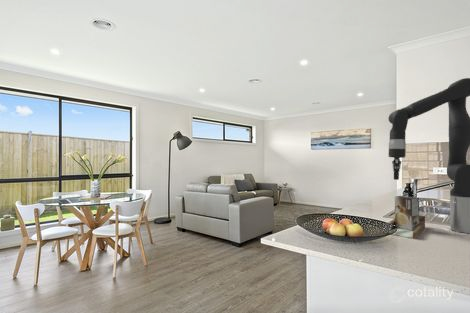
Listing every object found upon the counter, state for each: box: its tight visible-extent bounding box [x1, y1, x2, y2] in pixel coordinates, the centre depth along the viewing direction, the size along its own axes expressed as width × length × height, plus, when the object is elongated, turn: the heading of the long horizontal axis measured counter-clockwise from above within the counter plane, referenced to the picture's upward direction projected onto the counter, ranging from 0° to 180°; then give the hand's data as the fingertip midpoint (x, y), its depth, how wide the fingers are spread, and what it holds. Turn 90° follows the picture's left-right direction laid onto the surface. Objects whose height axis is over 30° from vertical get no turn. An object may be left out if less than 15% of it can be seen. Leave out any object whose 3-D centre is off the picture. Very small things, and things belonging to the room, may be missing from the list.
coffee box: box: [394, 195, 420, 231], centre depth 131 cm, size 9×6×16 cm
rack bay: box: [388, 214, 426, 240], centre depth 127 cm, size 13×27×6 cm, turn 136°
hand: (396, 179), depth 133 cm, fingers open, 8 cm apart
